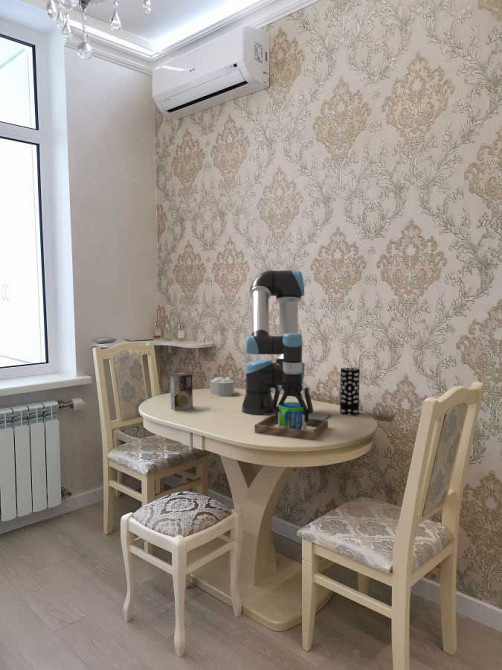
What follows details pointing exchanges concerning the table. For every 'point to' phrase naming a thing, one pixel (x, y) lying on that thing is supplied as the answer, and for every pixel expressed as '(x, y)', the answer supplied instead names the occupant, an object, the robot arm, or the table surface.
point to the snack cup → (291, 415)
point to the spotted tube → (349, 391)
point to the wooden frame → (287, 432)
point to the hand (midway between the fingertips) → (291, 428)
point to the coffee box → (181, 391)
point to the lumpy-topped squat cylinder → (222, 386)
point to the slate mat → (318, 416)
